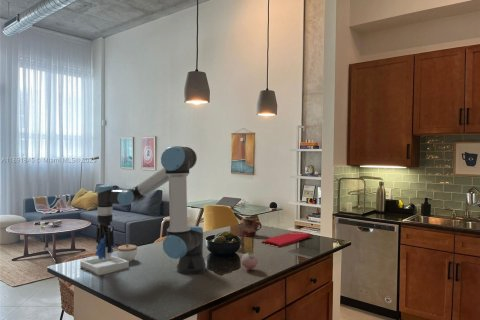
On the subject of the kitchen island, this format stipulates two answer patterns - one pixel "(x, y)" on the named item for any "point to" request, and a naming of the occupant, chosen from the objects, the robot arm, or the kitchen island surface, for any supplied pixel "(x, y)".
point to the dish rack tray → (104, 265)
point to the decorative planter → (249, 226)
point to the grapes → (102, 249)
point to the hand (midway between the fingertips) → (104, 257)
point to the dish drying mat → (287, 238)
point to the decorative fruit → (249, 260)
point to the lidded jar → (127, 252)
